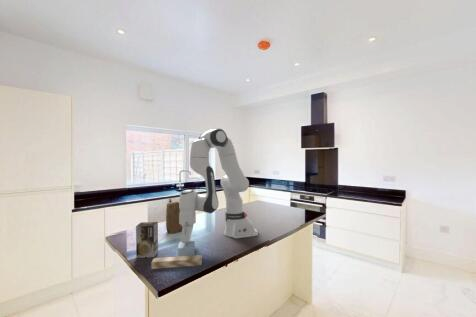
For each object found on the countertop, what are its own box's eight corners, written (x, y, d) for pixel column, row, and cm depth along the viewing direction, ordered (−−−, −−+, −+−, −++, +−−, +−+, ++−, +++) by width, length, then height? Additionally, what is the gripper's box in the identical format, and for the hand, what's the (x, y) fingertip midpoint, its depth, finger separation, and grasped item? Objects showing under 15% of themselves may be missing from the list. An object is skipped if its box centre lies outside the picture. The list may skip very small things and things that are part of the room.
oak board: (201, 261, 100) (201, 254, 100) (201, 265, 96) (201, 258, 96) (153, 264, 97) (153, 258, 98) (151, 268, 94) (151, 262, 94)
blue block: (194, 250, 113) (194, 240, 113) (194, 256, 105) (194, 246, 105) (179, 251, 111) (179, 242, 112) (178, 258, 104) (177, 248, 104)
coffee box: (158, 252, 111) (158, 221, 111) (154, 257, 105) (154, 225, 105) (141, 252, 111) (140, 221, 111) (135, 258, 104) (135, 225, 104)
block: (167, 234, 137) (167, 204, 138) (165, 231, 144) (165, 202, 144) (184, 231, 143) (184, 202, 143) (181, 228, 149) (181, 200, 150)
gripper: (191, 225, 105) (191, 253, 104) (194, 214, 125) (194, 238, 125) (178, 225, 104) (178, 253, 104) (184, 215, 124) (184, 238, 124)
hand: (187, 245), depth 114 cm, fingers closed
